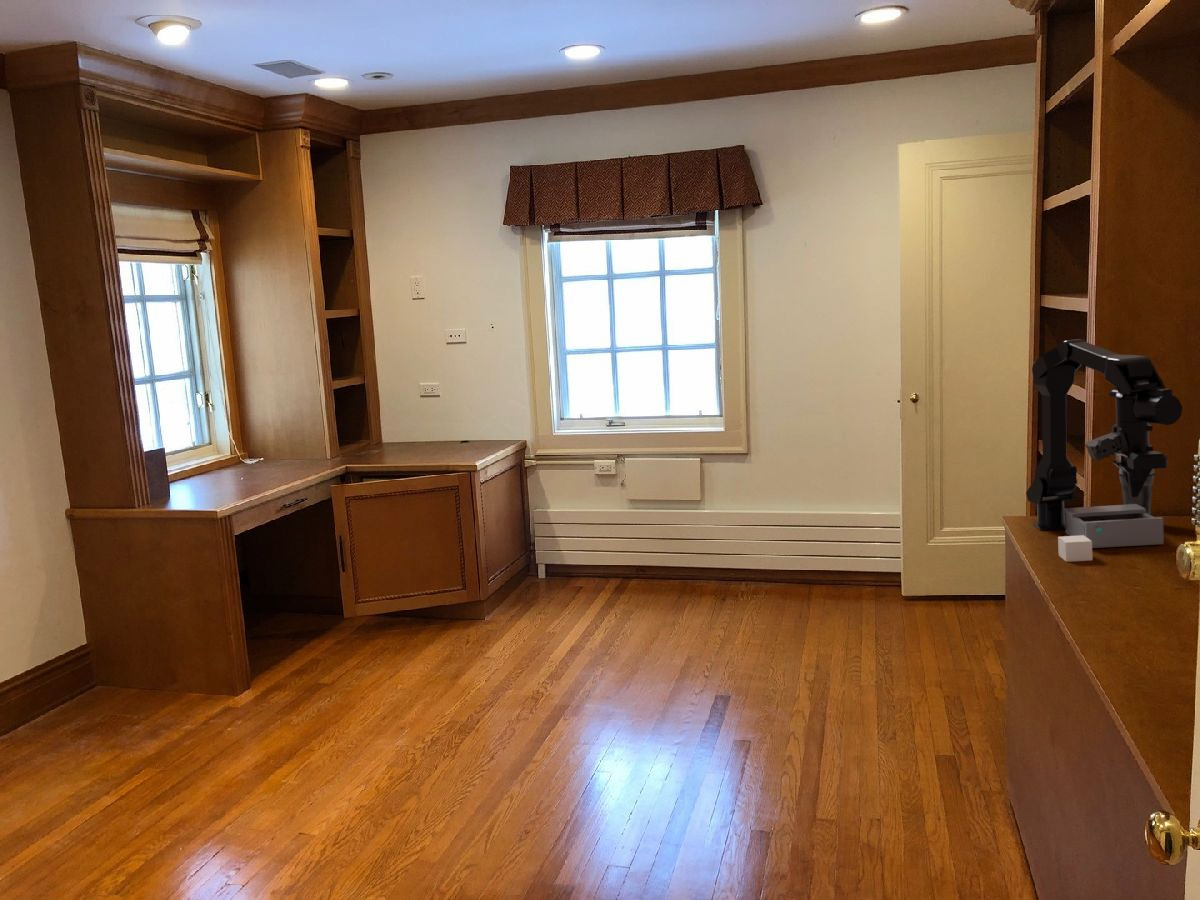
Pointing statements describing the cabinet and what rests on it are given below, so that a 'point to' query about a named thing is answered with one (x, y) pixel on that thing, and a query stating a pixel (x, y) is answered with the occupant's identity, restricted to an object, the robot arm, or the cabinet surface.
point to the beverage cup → (1143, 496)
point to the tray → (1125, 532)
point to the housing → (1099, 516)
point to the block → (1075, 548)
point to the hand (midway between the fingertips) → (1134, 496)
